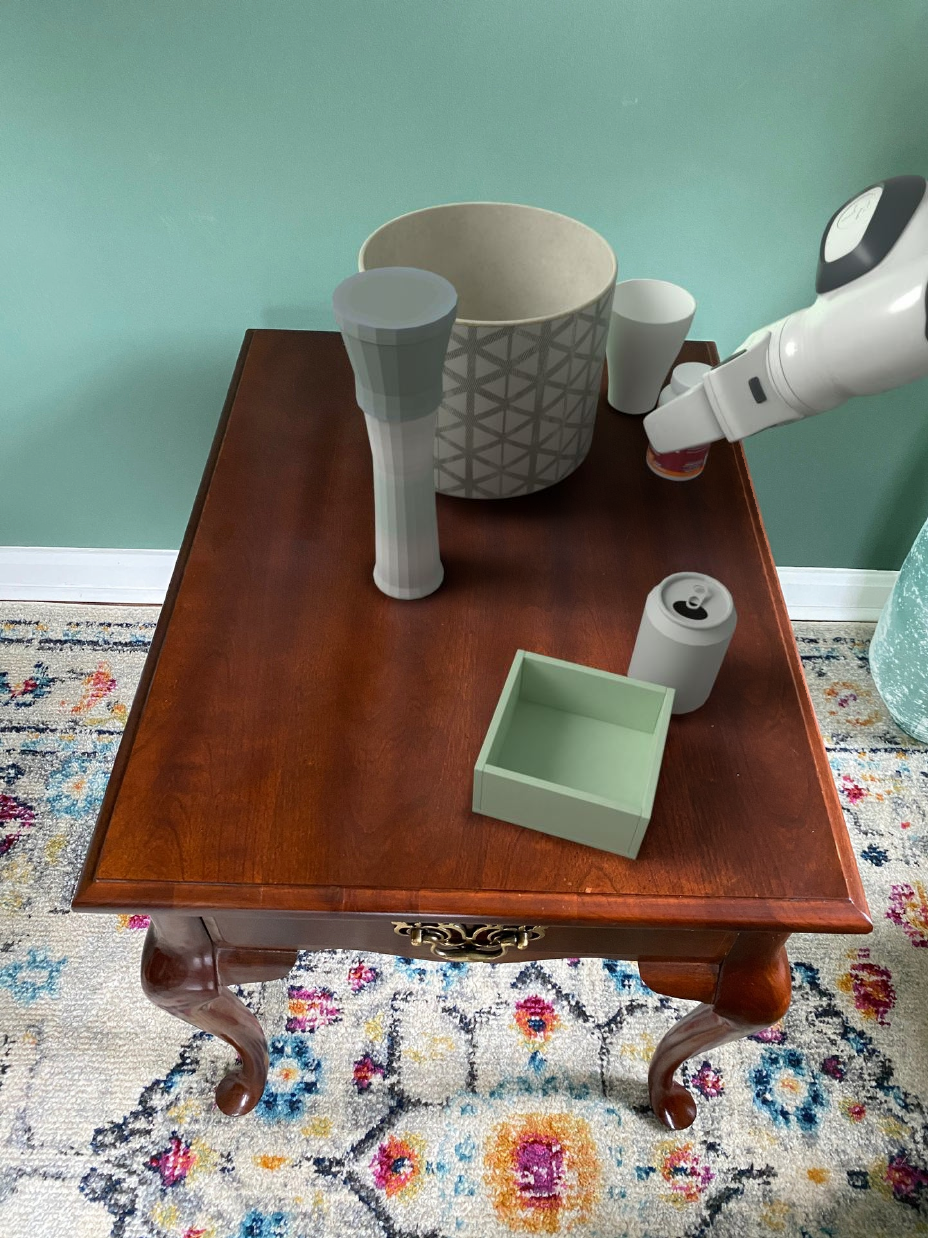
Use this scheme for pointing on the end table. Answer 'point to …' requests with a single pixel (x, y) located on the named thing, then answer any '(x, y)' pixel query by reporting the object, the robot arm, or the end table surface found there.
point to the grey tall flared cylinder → (400, 410)
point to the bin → (574, 753)
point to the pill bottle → (687, 460)
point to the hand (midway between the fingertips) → (680, 414)
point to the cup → (645, 340)
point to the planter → (510, 339)
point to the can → (684, 637)
